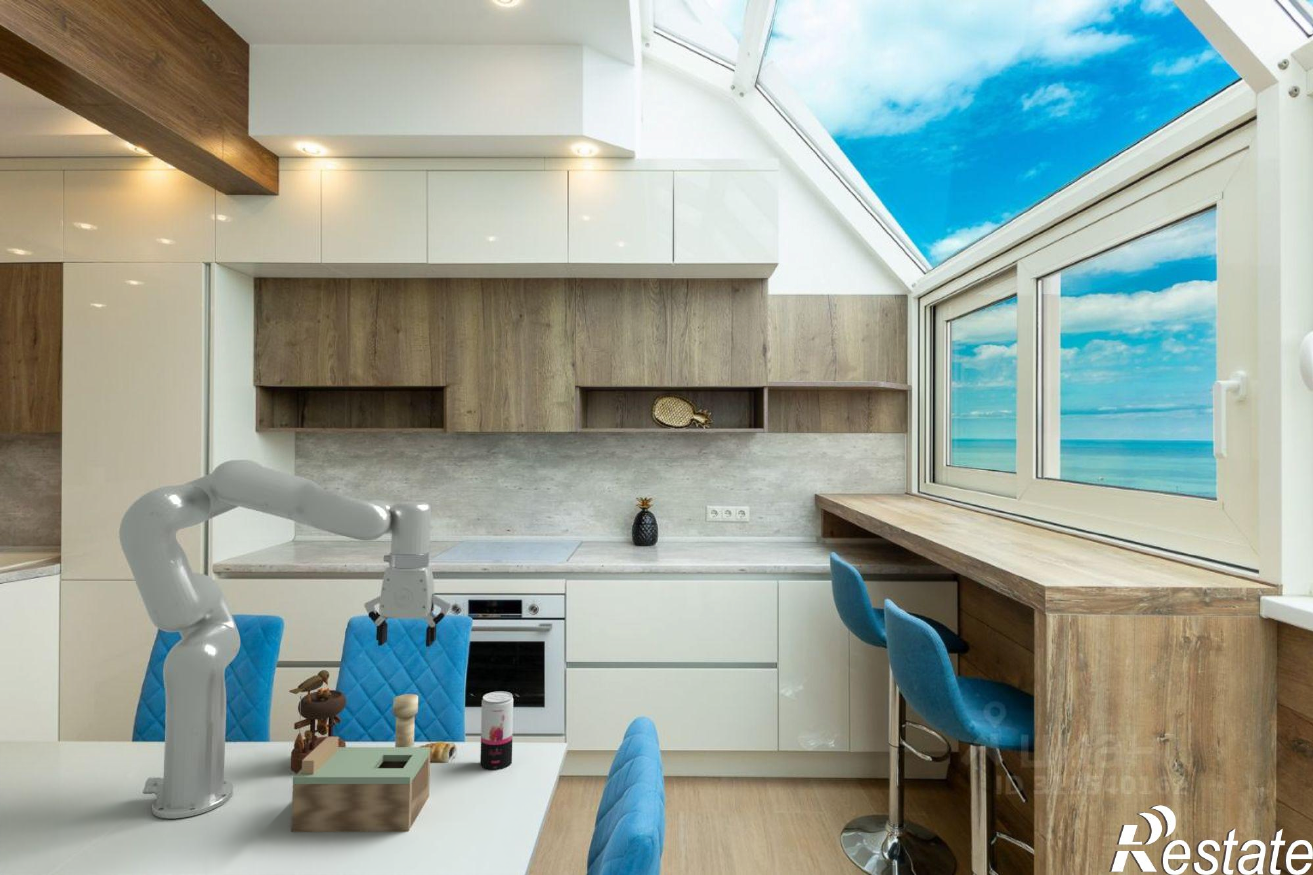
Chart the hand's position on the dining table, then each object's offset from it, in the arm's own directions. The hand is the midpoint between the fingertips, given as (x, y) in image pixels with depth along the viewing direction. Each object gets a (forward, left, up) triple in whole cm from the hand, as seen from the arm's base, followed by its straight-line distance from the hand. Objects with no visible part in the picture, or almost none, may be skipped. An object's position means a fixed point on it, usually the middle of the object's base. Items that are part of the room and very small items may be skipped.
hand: (406, 644), depth 139 cm
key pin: (0, 0, -27) cm, 27 cm away
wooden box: (-2, -16, -27) cm, 31 cm away
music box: (-20, +7, -27) cm, 34 cm away
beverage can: (+18, +4, -27) cm, 33 cm away
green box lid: (-2, -16, -18) cm, 24 cm away
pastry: (+5, +8, -28) cm, 29 cm away
